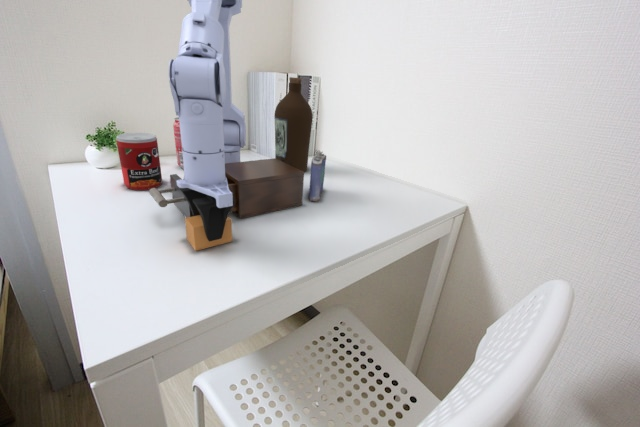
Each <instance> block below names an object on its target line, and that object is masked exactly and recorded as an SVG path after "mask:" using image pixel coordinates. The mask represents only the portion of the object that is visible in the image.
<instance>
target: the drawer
mask: <svg viewBox="0 0 640 427" xmlns="http://www.w3.org/2000/svg"><path fill="white" fill-rule="evenodd" d="M225 177H226V176H225ZM226 178H227V182H228V187H229V190H230V191H231V192H232V196H233V198H234V199H235V204H234V205H233V207H232V208H231V210H230V212H229V213H232V212H233V211H238V201H237V183H235V182H234V181H232V180H231V179H229V178H228V177H226ZM169 179H170V187H167V188H160V189H158V188H157V187H156V188H151V189H149V191H148V192H149V195H150V196H151V197H152V198H153V199H154V201H155V202H156V204H157V205H158V207H160V208H166V207H167V206H168V205H170V204H173V205H174V206H175V207H176V208H177V209H178V211H180V213H181V214H182V215H183V216H184V218H187V217H192V216H193V214H192V211H191V208H190V206H189V204H188V202H187V200H186V198H185V196H184V195H183V193H182V192H181V190H180V188H179V187H178V186H177V182H176V181H177V180H181V179H182V177H180V176H179V175H178V173H175V174H169ZM166 193H167V194H168V193H171V197H172V198H168V199H166V198H165V197H164V195H163V194H166Z"/></svg>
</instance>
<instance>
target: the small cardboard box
mask: <svg viewBox="0 0 640 427" xmlns="http://www.w3.org/2000/svg"><path fill="white" fill-rule="evenodd" d="M184 222H185V234H186V240H187V242H188V243H189V244H190V246H191V248H192V249H193V250H194V252H195V251H196V252H197V251H200V250H204V249H209V248H212V247H216V246H220V245H223V244H227V243H231V242H233V225H232V224H233V222H232V218H230V217H229V215H228V216H227V219H226V223H225V227H224V231H223V235H222V238H221V239H218V240H214V241H209V240H208V239H207V237H206V234H205V230H204V225H203V221H202V218H201V215H197V216H192V217H187V218H186V217H184Z"/></svg>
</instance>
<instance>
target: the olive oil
mask: <svg viewBox="0 0 640 427" xmlns="http://www.w3.org/2000/svg"><path fill="white" fill-rule="evenodd" d="M273 117H274V145H275V146H274V149H275V150H274V152H275V153H274V154H275V159H277V160H280V161H282V162H284V163H286V164H288V165H290V166H293V167H295V168H297V169H299V170H301V171H303V172H304V173H305V172H307V170H308V164H309V153H310V144H311V143H310V142H311V137H312V136H311V134H312V129H313V128H312V126H313V119H314V116H313V110H312V107H311V105H310V104H309V103H308V101H307V100H306V98H305V97H304V96H303V94H302V78H301V77H291V76H289V82H288V92H287V93H286V94H285V96H284V97H283V98H281V100H280V101H279V102H278V103H277V105H276V107H275V110H274V116H273Z"/></svg>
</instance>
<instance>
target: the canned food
mask: <svg viewBox="0 0 640 427" xmlns="http://www.w3.org/2000/svg"><path fill="white" fill-rule="evenodd" d="M115 141H116V147H117V152H118V157H119V164H120V169H121V174H122V180H123V184H124V186H125V188H127V189H129V190H132V191H147V190H150V189H151V188H156V189H157V188H158V187H160V186H161V185H162V182H163V176H162V168H161V159H160V151H159V144H158V138H157V135H155V134H153V133H148V132H127V133H126V132H125V133H121V134H118V135H116V137H115Z"/></svg>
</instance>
